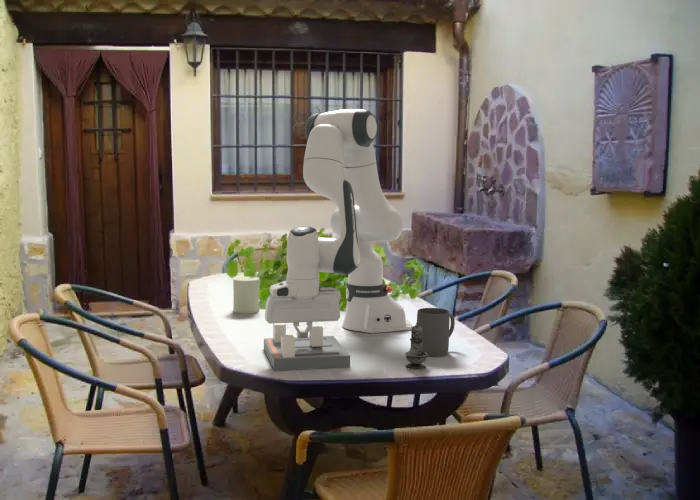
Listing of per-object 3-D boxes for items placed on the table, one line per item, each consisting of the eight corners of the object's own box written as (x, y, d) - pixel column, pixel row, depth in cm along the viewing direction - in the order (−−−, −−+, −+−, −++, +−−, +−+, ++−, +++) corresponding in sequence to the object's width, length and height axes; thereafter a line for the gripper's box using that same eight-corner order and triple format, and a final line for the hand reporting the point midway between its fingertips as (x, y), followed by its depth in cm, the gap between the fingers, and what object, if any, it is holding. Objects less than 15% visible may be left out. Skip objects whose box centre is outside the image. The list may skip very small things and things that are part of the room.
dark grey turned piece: (403, 364, 200) (404, 319, 198) (424, 363, 200) (426, 319, 199) (406, 370, 194) (407, 324, 192) (429, 370, 194) (430, 324, 193)
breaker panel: (332, 345, 217) (333, 318, 216) (350, 366, 196) (350, 336, 195) (263, 348, 213) (263, 321, 212) (273, 370, 191) (273, 340, 190)
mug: (433, 358, 205) (434, 315, 204) (409, 352, 212) (410, 310, 210) (465, 350, 214) (466, 309, 213) (441, 344, 221) (442, 304, 219)
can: (264, 310, 265) (264, 276, 264) (247, 314, 257) (247, 280, 256) (244, 307, 270) (244, 274, 269) (227, 311, 262) (227, 277, 261)
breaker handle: (320, 342, 207) (320, 324, 206) (322, 346, 203) (323, 328, 202) (309, 343, 206) (309, 325, 205) (311, 346, 202) (312, 328, 202)
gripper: (338, 284, 207) (337, 333, 209) (264, 286, 203) (264, 336, 204) (343, 288, 201) (342, 339, 203) (266, 290, 197) (266, 342, 198)
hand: (302, 337), depth 204 cm, fingers closed
